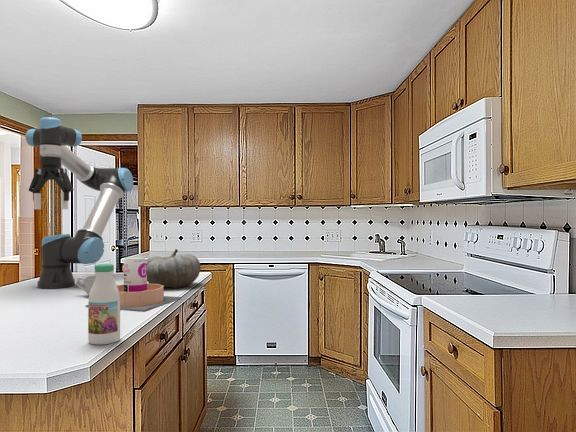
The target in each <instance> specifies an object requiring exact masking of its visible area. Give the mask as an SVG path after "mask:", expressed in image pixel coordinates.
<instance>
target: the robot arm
mask: <svg viewBox="0 0 576 432" xmlns="http://www.w3.org/2000/svg"><path fill="white" fill-rule="evenodd" d="M82 140H83V135H82V133H81V132H80V130H78V129H75V128H73V127H67V126H63V125H62V121H61V119H59V118H56V117H51V116H49V117H48V116H46V117H45V116H44V117H42V118H40V119H39V127H38V128H32V129H28V130H27V131H26V133H25V142H26V144H27V145H28V146H30V147H34V148H37V147H38V148H39V155H40V157H39V166H41V168H35V169H34V174H33V177H32V180H31V183H30V185H29V188H28V192H31V193H32V201H33V209H34V210H42V193H41V190H42V189H43V187H45V184H46V183H47V182H48V181H53V180H54V181H55V182H56V184H57V185H58V187H59V189H60V190H61V193H60V199H61V201H60V205H61V207H60V209H61V210H69V200H70V193H71V192H73V191H74V190H75V189H74V187H73V185H72V182H71V180H70V178H69V175H68V171H70V172H71V173H72V174H74V176H75V178H76V179H77V181H79V182H81V183H82V184H83V185H85V186H86V187H89V188H90V189H92V190H95V191H99V192H100V193H99V194H98V197H97V198H96V201H95V203H94V205H93V207H92V209H91V210H90V213H89V215H88V217H87V219H86V221H85V223H84V225H83V227H82V228H79V229H78V230H77V231H76V233H75V235H74V236H73V237H72V235H71V234H70V233H65V234H57V235H54V234H53V235H47V236H43V238H42V240H41V246H40V247H41V248H40V249H41V271H40V275H39V277H38V280H37V288H39V289H46V290H47V289H50V290H51V289H62V288H69V287H74V286H75V285H76V280H75V278H74V276H73V272H72V267H71V266H72V265H71V264H78V265H79V264H81V265H89V264H95V263H97V262H98V261H100V260H101V258H102V257H103V255H104V252H105V249H104V248H105V243H104V241H103V237H102V235H103V232H104V231H105V228H106V227H107V224H108V222H109V220H110V218H111V215H112V213H113V212H114V209H115V207H116V205H117V202H118V200H120V199H122V198H123V197H124V195H125V193H126V192H130V191H132V190H133V188H134V178H133V177H134V176H133V174H132V172H131V171H130V170H129V169H128V168H127V167H114V168H113V167H112V168H111V167H110V168H109V167H104V168H102V167H94V166H93V165H92V164H90V163H86V162H85V161H84V160H83V159H82V158H80V157H79V156H78V155H77V154H75V153H74V152H73V151H72V150H71V149H69V148H68V147H78V146H80V144H81V143H82ZM67 146H68V147H67ZM62 166H63V167H62Z"/></svg>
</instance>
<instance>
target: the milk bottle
mask: <svg viewBox="0 0 576 432" xmlns="http://www.w3.org/2000/svg"><path fill="white" fill-rule="evenodd" d="M114 269H115V266H114V264H113V263H101V264H100V263H99V264H95V265H94V275H96V278H95V281H94V284H93V286H92V288H91V291H90V294H89V295H88V304H87V305H88V307H87V308H88V310H87V311H88V312H87V313H88V314H87V317H88V318H87V319H88V320H87V322H88V323H87V324H88V325H87V326H88V327H87V329H88V330H87V332H88V335H87V337H88V338H87V339H88V340H87V341H88V343H89V344H91V345H95V346H97V345H99V346H100V345H101V346H103V345H109V344H114V343H117V342H119V341H120V339H121V310H120V295H119V291H118V288H117V286H116V285H117V284H116V282H115V279H114V273H115V272H114Z"/></svg>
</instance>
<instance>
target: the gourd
mask: <svg viewBox="0 0 576 432" xmlns="http://www.w3.org/2000/svg"><path fill="white" fill-rule="evenodd" d="M178 251H179V250H178V249H177V248H175V249H174V251H173V253H172V254H171V255H170V256H165V257H162V256H158V255H153V256H149V257H148V258H145V259H146V261H147V283H150V284H160V285H164V288H172V289H178V288H183V287H185V286H190V285H191V284H193V283H194V282H195V281H196V279H197V278H199V275H200V273H201V272H200V271H201V268H202V267H201V262H200V260H199V259H198V257H197V256H195V255H193V254H189V253H186V254H182V253H180V254H177V253H178Z"/></svg>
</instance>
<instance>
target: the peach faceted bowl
mask: <svg viewBox="0 0 576 432" xmlns="http://www.w3.org/2000/svg"><path fill="white" fill-rule="evenodd" d="M116 286H117V288H118V291H119V295H120V311H131V312H143V313H144V312H147V311H151V310H154V309H156V308H159V307H162V306H163V305H167V304H170V303H173V302H175V301H178V300H181V299H182V297H181V296H169V295H164V294H165V287H164V285H160V284H150V283H148V282H147V291H141V292H124V284H118V285H117V284H116ZM85 308H88V304H86V305H85Z"/></svg>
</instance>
